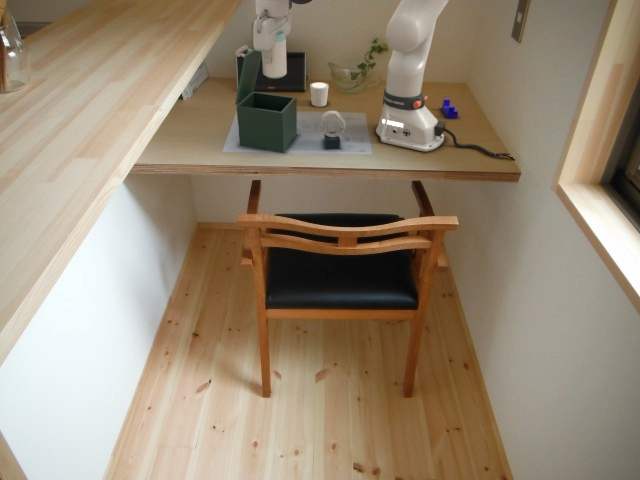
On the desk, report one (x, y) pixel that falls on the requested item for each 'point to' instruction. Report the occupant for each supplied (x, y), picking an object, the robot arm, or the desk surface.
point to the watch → (332, 137)
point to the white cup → (319, 93)
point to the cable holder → (449, 109)
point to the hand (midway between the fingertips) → (273, 58)
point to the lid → (248, 72)
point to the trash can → (267, 121)
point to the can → (276, 59)
